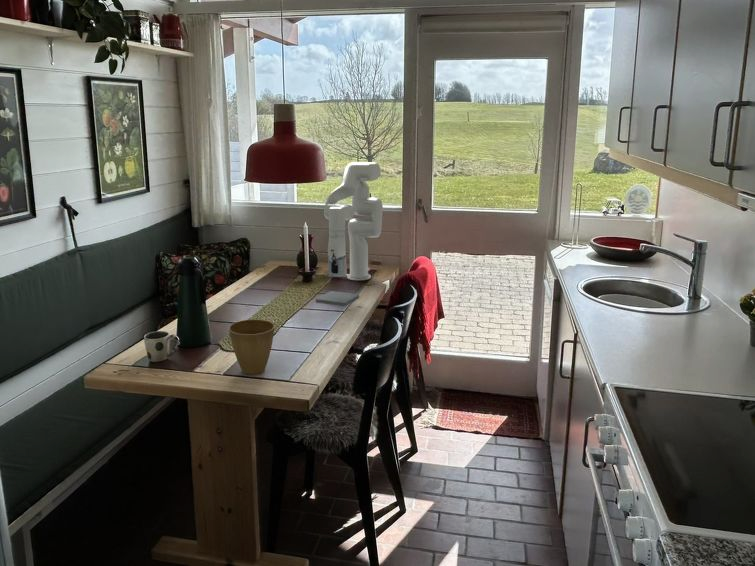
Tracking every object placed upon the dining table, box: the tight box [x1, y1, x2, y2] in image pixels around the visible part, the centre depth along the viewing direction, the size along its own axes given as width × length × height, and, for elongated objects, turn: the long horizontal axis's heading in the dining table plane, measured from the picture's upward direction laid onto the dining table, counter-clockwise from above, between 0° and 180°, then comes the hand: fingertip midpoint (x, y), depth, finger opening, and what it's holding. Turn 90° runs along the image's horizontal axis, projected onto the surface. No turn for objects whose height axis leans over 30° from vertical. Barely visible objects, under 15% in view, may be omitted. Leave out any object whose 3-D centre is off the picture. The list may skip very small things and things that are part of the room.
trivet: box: [315, 290, 360, 306], centre depth 293 cm, size 15×15×1 cm
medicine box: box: [327, 257, 348, 278], centre depth 293 cm, size 8×4×9 cm, turn 81°
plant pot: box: [228, 319, 275, 376], centre depth 209 cm, size 15×15×16 cm
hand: (337, 271), depth 293 cm, fingers closed on medicine box, 5 cm apart
